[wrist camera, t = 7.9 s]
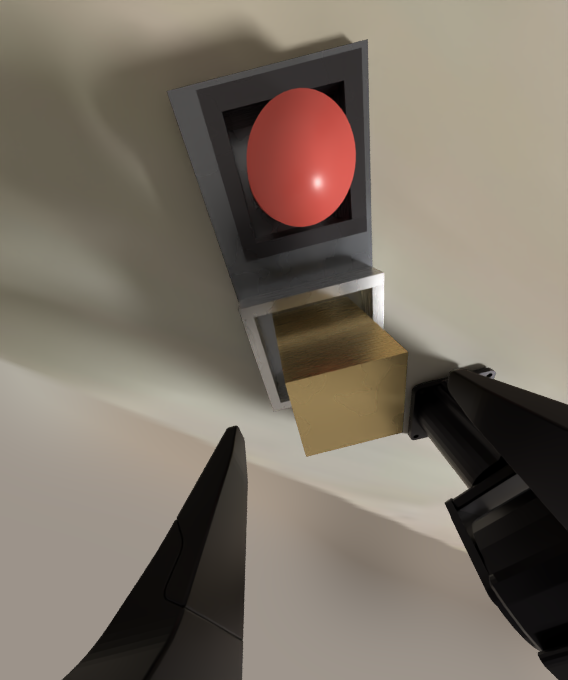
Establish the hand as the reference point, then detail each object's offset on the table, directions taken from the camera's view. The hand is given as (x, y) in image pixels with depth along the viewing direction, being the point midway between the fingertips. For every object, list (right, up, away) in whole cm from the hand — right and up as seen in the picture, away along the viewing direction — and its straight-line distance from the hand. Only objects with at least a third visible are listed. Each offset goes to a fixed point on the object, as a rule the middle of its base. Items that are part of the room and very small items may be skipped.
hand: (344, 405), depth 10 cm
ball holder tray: (-1, +6, +3) cm, 7 cm away
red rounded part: (-2, +9, 0) cm, 10 cm away
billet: (-1, +3, +5) cm, 6 cm away
